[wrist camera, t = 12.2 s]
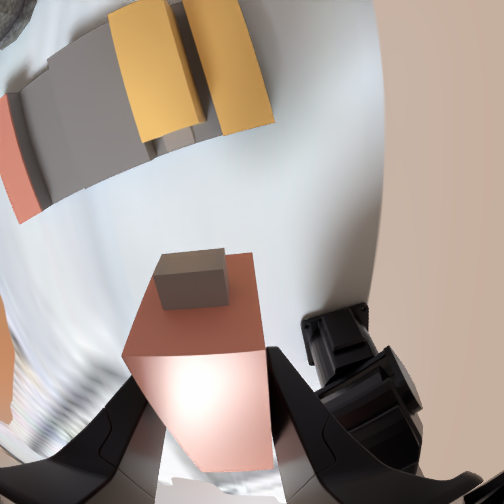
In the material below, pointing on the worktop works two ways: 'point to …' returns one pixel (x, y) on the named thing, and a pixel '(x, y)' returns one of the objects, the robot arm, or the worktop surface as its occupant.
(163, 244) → the worktop surface
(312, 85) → the worktop surface
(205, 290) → the brick plug
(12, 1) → the mortar and pestle
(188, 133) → the ochre plug
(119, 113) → the slot rack
